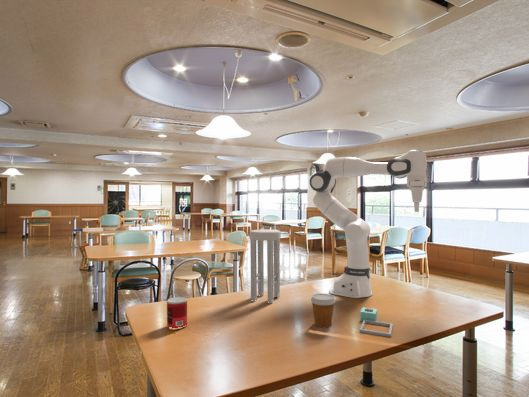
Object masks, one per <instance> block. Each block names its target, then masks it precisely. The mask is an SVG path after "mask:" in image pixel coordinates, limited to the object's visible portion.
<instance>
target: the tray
mask: <svg viewBox="0 0 529 397" xmlns="http://www.w3.org/2000/svg"><path fill="white" fill-rule="evenodd" d="M366 324H370V325H375V326H376V325H377V326H384V327H389V330H388V332H385V331H383V332H382V331H379V330H371V329H364V327H365V325H366ZM393 326H394V325H393V323H392V322H391V323H390V322H383V321H379V320H378V321H370V320H363V321H361V325H360V327H359V333H362V334H368V335H376V336H381V337H386V338H387V337H389V338H391V337H392V333H393Z"/></svg>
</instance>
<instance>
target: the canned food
mask: <svg viewBox="0 0 529 397" xmlns="http://www.w3.org/2000/svg"><path fill="white" fill-rule="evenodd" d="M166 323H167V324H166V326H168V327H172V328H178V327H183V326H185V325H188V299H187V297H185V296H174V297H170V298H168V299H167V301H166ZM168 327H167V328H168Z"/></svg>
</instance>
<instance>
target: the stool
mask: <svg viewBox="0 0 529 397" xmlns="http://www.w3.org/2000/svg"><path fill="white" fill-rule="evenodd" d="M281 238H282V234H281V230H279V229H269V228H267V229H265V228H264V229H263V228H261V229H253V230H250V231H249V240H250V242H249V243H250V301H251V300H253V301H252V302H254V301H255V300H258V295H260V296H259V297H263V296H262V295H264V293H265V290H264V289H265V288H264V285H265V284H264V279H265V278H264V276H265V275H264V241H266V243H267V244H266V247H267V248H266V250H267V251H266V260H267V261H266V262H267V264H266V267H267V268H266V271H267V276H266V277H267V281H266V283H267V303H268V302H269V303H268V304H270V303H272V304H274V299H275V298H274V297H277V298H276V299H279V298H280V297H281V291H280V286H281V284H280V279H281V278H280V276H281V275H280V268H281V267H280V239H281ZM264 296H265V295H264ZM255 302H256V301H255Z"/></svg>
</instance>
